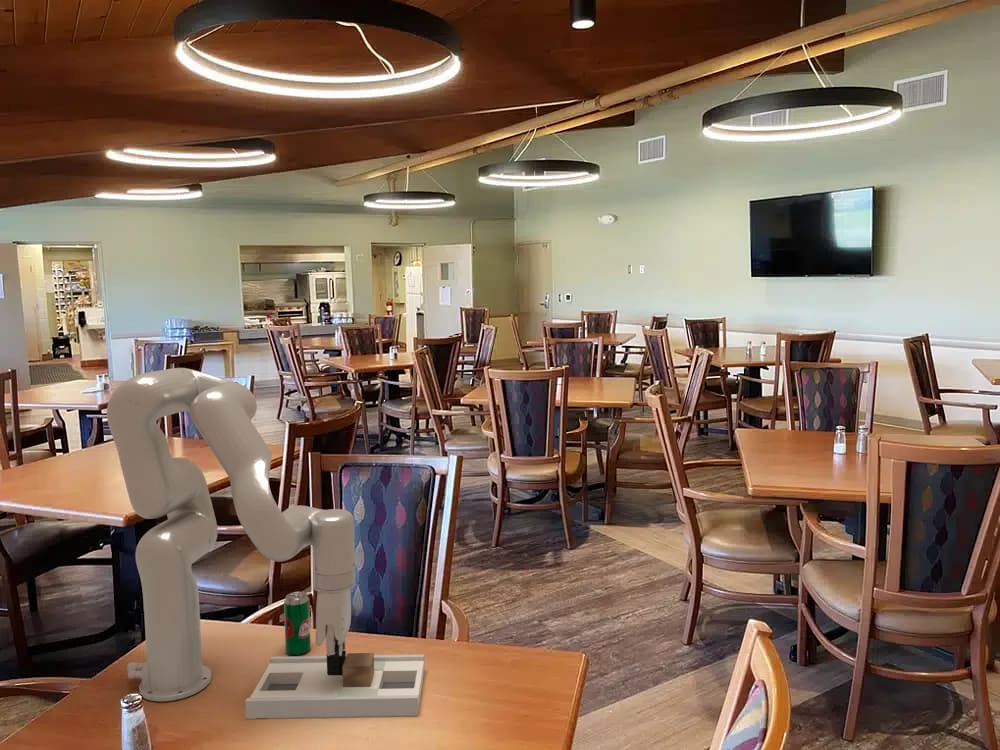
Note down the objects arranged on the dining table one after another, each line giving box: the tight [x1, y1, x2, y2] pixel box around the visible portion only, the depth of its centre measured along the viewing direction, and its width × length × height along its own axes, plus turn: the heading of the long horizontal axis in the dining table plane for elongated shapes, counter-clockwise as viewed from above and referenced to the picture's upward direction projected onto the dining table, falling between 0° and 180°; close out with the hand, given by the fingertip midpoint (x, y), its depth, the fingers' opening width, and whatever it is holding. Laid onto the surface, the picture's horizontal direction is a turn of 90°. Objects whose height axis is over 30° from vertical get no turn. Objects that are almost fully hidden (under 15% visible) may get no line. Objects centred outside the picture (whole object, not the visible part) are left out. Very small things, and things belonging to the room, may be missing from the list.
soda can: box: [283, 591, 312, 657], centre depth 154 cm, size 5×5×12 cm
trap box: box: [245, 653, 426, 720], centre depth 138 cm, size 30×16×3 cm, turn 91°
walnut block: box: [343, 652, 375, 687], centre depth 138 cm, size 5×5×4 cm
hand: (336, 673), depth 138 cm, fingers closed
